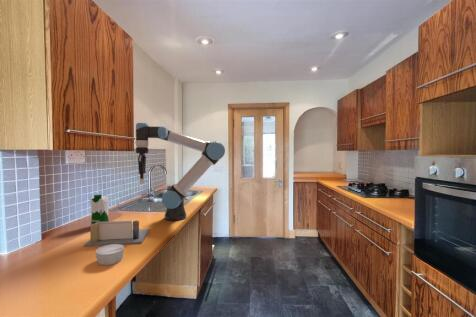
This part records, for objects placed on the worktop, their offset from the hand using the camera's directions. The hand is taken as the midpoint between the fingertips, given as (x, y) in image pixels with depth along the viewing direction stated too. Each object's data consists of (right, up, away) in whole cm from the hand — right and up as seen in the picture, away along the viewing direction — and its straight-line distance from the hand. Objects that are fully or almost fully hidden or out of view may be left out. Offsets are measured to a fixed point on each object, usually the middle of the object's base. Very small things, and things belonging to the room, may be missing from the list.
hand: (142, 183), depth 158 cm
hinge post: (+8, -27, -28) cm, 40 cm away
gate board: (-2, -27, -25) cm, 37 cm away
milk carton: (-25, -27, -4) cm, 37 cm away
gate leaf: (-3, -26, -30) cm, 40 cm away
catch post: (-11, -27, -34) cm, 45 cm away
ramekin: (+7, -28, -53) cm, 60 cm away
